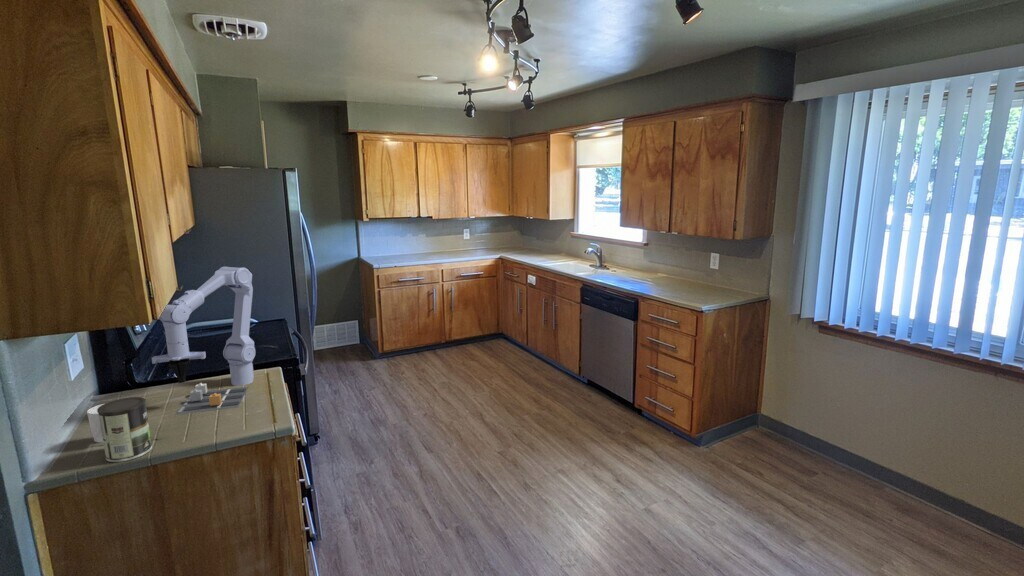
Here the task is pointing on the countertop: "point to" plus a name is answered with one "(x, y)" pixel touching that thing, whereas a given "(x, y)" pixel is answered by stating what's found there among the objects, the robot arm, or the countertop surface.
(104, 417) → the coffee can
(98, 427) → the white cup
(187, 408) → the control board
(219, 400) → the orange slider knob
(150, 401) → the countertop surface
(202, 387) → the cube with tab
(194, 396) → the cube with peg
